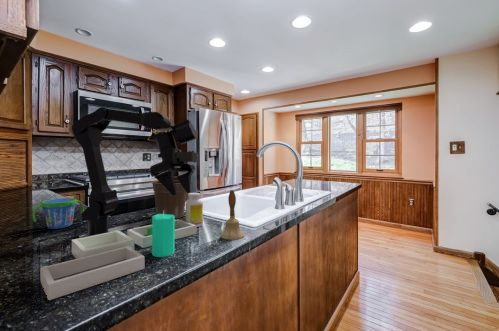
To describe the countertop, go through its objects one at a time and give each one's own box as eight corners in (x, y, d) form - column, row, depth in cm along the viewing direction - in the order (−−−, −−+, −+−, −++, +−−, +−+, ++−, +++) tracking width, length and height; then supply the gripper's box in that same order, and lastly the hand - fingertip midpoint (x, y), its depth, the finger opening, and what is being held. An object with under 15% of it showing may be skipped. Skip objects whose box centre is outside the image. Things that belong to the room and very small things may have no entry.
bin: (71, 254, 66) (71, 239, 66) (118, 243, 75) (118, 230, 75) (83, 267, 58) (83, 251, 58) (134, 253, 67) (134, 239, 67)
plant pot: (174, 211, 121) (174, 179, 121) (196, 215, 112) (196, 181, 111) (144, 217, 108) (144, 181, 107) (166, 223, 99) (166, 184, 98)
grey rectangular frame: (40, 281, 52) (40, 267, 51) (128, 256, 65) (128, 245, 65) (48, 300, 45) (48, 284, 45) (144, 268, 58) (144, 256, 58)
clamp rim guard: (127, 238, 79) (127, 229, 79) (178, 227, 93) (178, 219, 93) (143, 248, 71) (143, 238, 71) (196, 233, 85) (196, 225, 85)
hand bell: (234, 241, 78) (235, 192, 77) (215, 236, 82) (215, 190, 82) (248, 234, 85) (249, 190, 84) (230, 230, 89) (230, 188, 89)
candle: (148, 252, 68) (148, 210, 67) (167, 247, 72) (168, 207, 72) (158, 258, 64) (158, 214, 63) (178, 252, 68) (178, 210, 68)
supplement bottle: (206, 224, 97) (206, 193, 96) (194, 228, 91) (194, 195, 91) (194, 222, 100) (194, 191, 100) (182, 226, 95) (182, 193, 94)
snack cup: (34, 234, 83) (34, 205, 82) (31, 228, 90) (30, 201, 90) (87, 225, 94) (87, 199, 94) (80, 220, 101) (80, 196, 101)
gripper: (174, 135, 69) (190, 187, 67) (201, 143, 87) (214, 184, 85) (141, 149, 71) (156, 199, 69) (175, 154, 89) (187, 194, 87)
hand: (182, 193), depth 78 cm, fingers open, 9 cm apart
